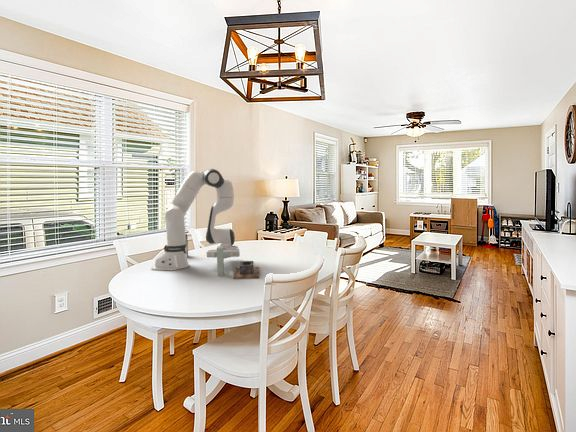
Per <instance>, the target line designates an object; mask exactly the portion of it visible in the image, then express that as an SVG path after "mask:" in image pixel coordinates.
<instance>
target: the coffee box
mask: <svg viewBox="0 0 576 432" xmlns="http://www.w3.org/2000/svg"><path fill="white" fill-rule="evenodd" d="M185 243H186V246H187V252H186V255H187V257H189V245H188V243H189V242H188V234H187V233H185Z"/></svg>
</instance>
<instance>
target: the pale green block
mask: <svg viewBox="0 0 576 432" xmlns="http://www.w3.org/2000/svg"><path fill="white" fill-rule="evenodd" d="M216 250H217V257H216V268H217V277H223V276H224V274H225V259H224V254H223V246H220V245H219V246H217V248H216Z"/></svg>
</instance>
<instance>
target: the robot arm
mask: <svg viewBox="0 0 576 432" xmlns="http://www.w3.org/2000/svg"><path fill="white" fill-rule="evenodd" d="M204 185H207V186H209V187H212V188H215V193H216V200H215V202H214V204H212V205H211V208H210V212H209V219H208V223H207V230H206V233H205V240H206V242H207V243H208V244H210V245H213V244H220V245H219V246H223V254H224V260H225V259H228V258H236V257H240V253H241V252H240V248H239V246H237V245H234V244H235V242H236V241H235V239H236V237H235V236H236V235H235V232H234V230H233V229H232V228H215V225H216V218H217V216H218V215H219V214H221V213H223V212H226V211H228V210H229V209H231V208H232V207H233V205H234V187H233V182H232V181H230V180H229V179H224V177H223V176H222V174H221V172H220V171H219V170H217V169H215V168H209V169H206V170H205V171H202V172H200V171H198V170H197V171H196V170H193V171H191V172H189V174H188V175H187V176H186V177H185V179H184V180H183V182H182V183H181V186H180V187H179V188H178V190H177V192H176V194H175V196H174V197H173V199H172V201H171V203H170V204H169V206H168V207H167V209H166V210H165V213H164V221H165V222H164V223H165V231H166V244H165V245H164V247H163V250H164V251H163V252H162V253H160V254H159V255H158V256H157V257H156V258H155V261H154V262H155V263H154V264H153V265H152V266H151V268H150V269H151V270H152V271H153V270H154V271H176V270H177V271H178V270H180V269H185V268H188V267H189V266H190V264H189V261H188V256H187V255H186V252H187V246H186V243H185V234H186V229H185V216H186V214H187V212H188V210H189V209H190V207H191V205H193V202H194V200H195V199H196V197H197V195H198V194H199V191H200V190H201V188H203V186H204ZM206 257H207V258H208V259H209V258H213V259H215V258H216V259H217V249H209V250H207V251H206Z"/></svg>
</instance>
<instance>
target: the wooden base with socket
mask: <svg viewBox="0 0 576 432" xmlns="http://www.w3.org/2000/svg"><path fill="white" fill-rule="evenodd" d="M243 279H245V280H246V279H248V280H249V279H260V266H255V265H254V261H253V260H241V261H240V263H239V267H235V270H234V274H233V280H243Z"/></svg>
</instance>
